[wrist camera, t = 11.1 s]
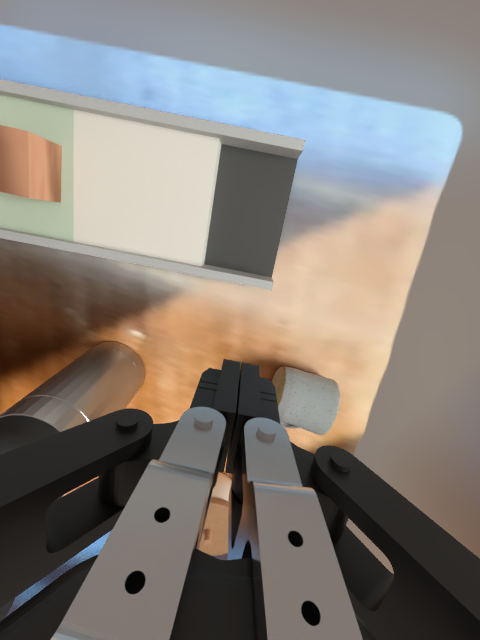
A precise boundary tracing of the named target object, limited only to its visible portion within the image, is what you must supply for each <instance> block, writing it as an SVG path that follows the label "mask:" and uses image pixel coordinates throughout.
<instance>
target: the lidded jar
mask: <svg viewBox="0 0 480 640" xmlns="http://www.w3.org/2000/svg"><path fill="white" fill-rule="evenodd" d="M231 483H232V480H231V479H230V478H229V477H228V476H227V475H225V474H223V473H221V472H219V473H218V478H217V482H216V485H215V487H214V488H213V492H212V496H211V501H210V505H209V509H208V513H207V517H206V521H205V525H204V530H203V534H202V538H201V542H200V546H199V550H200V551H202V552H204V553H206V554H208V555H222V554H225V553H228V509H229V492H230V487H231Z"/></svg>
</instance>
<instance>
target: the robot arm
mask: <svg viewBox="0 0 480 640" xmlns="http://www.w3.org/2000/svg"><path fill="white" fill-rule="evenodd" d="M240 364H241V362H237V361H232V360H226V359H224V361H223V365H222V370H217V369H212V368H209V369H207V370H206V371H205V372H203V373H202V375H201V378H200V381H199V384H198V387H197V389H196V392H195V395H194V398H193V401H192V404H191V406H190V409H188V410H187V411H185V412H184V413H183V414H182V416H181V418H180V420H178V421H175V422H172V423H165V424H153V420H152V418H151V416H150V415H149V414H147V413H146V412H144V411H142V410H138V409H125V408H126V406H127V405H128V404H129V402H130V401H131V400H132V398H133V397H134V395H135V394H136V393H137V391H138V390H139V388H140V387H141V385H142V384H143V381H144V378H145V369H144V365H143V362H142V360H141V359H140V357H139V355H138V354H137V353H136V352H135V351H134V350H132V349H131V348H130V347H128V346H126V345H124V344H121V343H118V342H103V343H100V344H97V345H96V346H94V347H93V348H91V349H90V350H89V351H87V352H86V353H84V354H83V355H82V356H80V357H79V358H77V359H76V360H75V361H73V362H72V363H70V364H69V365H68V366H66V367H65V368H64V369H62V370H61V371H60V372H58V373H57V374H55V375H54V376H53V377H51V378H50V379H49V380H47V381H46V382H45V383H43V384H42V385H40V386H39V387H38V388H36V389H35V390H34V391H32V392H31V393H29V394H28V395H27V396H25V397H24V398H23V399H21V400H20V401H19V402H17V403H16V404H15V405H13V406H12V407H11V408H9V409H8V410H7V411H5V412H4V413H2V414H1V415H0V640H480V559H479V558H478V557H477V556H476V555H474V554H473V553H472V552H471V551H469V550H468V549H467V548H466V547H465V546H463V545H462V544H461V543H460V542H458V541H457V540H456V539H455V538H453V537H452V536H451V535H450V534H449V533H447V532H446V531H445V530H444V529H443V528H441V527H440V526H439V525H438V524H436V523H435V522H434V521H433V520H431V519H430V518H429V517H428V516H427V515H425V514H424V513H423V512H422V511H420V510H419V509H418V508H417V507H416V506H414V505H413V504H412V503H410V502H409V501H408V500H407V499H406V498H405V497H403V496H402V495H401V494H399V493H398V492H397V491H396V490H395V489H393V488H392V487H391V486H390V485H389V484H387V483H386V482H385V481H384V480H383V479H381V478H380V477H379V476H378V475H376V474H375V473H374V472H373V471H371V470H370V469H369V468H368V467H367V466H365V465H364V464H363V463H362V462H361V461H359V460H358V459H357V458H356V457H354V456H353V455H352V454H350V453H349V452H347V451H346V450H344V449H341V448H339V447H335V446H322V447H320V448H318V449H317V451H316V453H315V454H313V453H311V452H308V451H306V450H304V449H302V448H300V447H298V446H296V445H294V444H293V443H292V442H290V439H289V436H288V433H287V431H286V430H285V428H284V427H283V426H282V425H280V417H279V410H278V403H277V396H276V389H275V386H274V385H273V383H272V382H271V381H270V379H265V378H260V377H259V365H253V364H248V363H243V362H242V364H241V368H240ZM227 453H228V454H227ZM226 458H227V463H226V473H231V474H232V483H231V487H230V492H229V509H228V560H219V559H217V558H214V557H212V556H210V555H208V554H206V553H204V552H202V551H200V550H199V546H200V542H201V538H202V534H203V530H204V525H205V521H206V517H207V513H208V509H209V505H210V501H211V496H212V492H213V488H214V487H215V485H216V482H217V478H218V473H219V471H220V472H224V467H225V462H226ZM97 476H99V478H97V479H95V480H93V481H91V482H90V483H88V484H86V485H84V486H82V487H80V488H78V489H77V490H75V491H73V492H71V493H69V494H67V495H65V496H63V495H64V494H65V493H67V492H69V491H71V490H73V489H75V488H76V487H78V486H80V485H82V484H84V483H86V482H88V481H90V480H91V479H93V478H95V477H97ZM62 496H63V497H62ZM61 497H62V498H61ZM348 519H350V520H352V521H353V523H354V524H355V525H356V526H357V527H358V528H359V529H360V530H361V531H362V532H363V533H364V534H365V535H366V536H367V537H368V538H369V539H370V540H371V541H372V542H373V543H374V544H375V545H376V546H377V547H378V548H379V549H380V550H381V551H382V552H383V553H384V554H385V555H386V557H387V558H388V559H389V561H390V563H391V565H392V567H393V571H394V574H392V573H391V572H390V571H389V570H388V569H386V567H385V566H384V565H383V564H382V563H381V562H380V561H379V560H378V559H377V558H376V557H375V556H374V555H373V554H372V553H371V552H370V551H369V550H368V548H366V546H365V545H364V544H363V543H362V542H361V541H360V540H359V539H358V538H357V537H356V536H355V535H354V534H353V533H352V532H351V531H350V530H349V528H348V527H347V526H346V523H347V521H348ZM112 529H113V530H112ZM111 530H112V531H111ZM109 531H111V533H110V535H109V537H108V539H107V540H106V542H105V544H104V546H103V548H102V550H101V551H100V553H99V555H96V556H94V557H92V558H90V559H88V560H85V561H83V562H81V563H80V564H78V565H76V566H75V567H73V568H72V569H70V570H68V571H67V572H65V573H64V574H63V575H61V576H60V577H59V578H57V579H56V580H55V581H53V582H52V583H51V584H49V585H48V586H47V587H45V588H44V589H43V590H41V591H40V592H39V593H38V594H36V595H35V596H34V597H32V598H31V599H30V600H28V601H27V602H26V603H24V604H23V605H22V606H20V607H19V608H18V609H16V610H15V611H14V612H13V613H11V614H10V615H9V616H7V617H6V615H7V613H8V611H9V609H10V608H11V606H12V604H13V601H14V599H15V597H16V596H18V595H19V594H20V593H22V592H23V591H25V590H26V589H28V588H29V587H30V586H32V585H33V584H35V583H36V582H38V581H39V580H41V579H42V578H43V577H45V576H46V575H48V574H49V573H51V572H52V571H53V570H55V569H56V568H58V567H59V566H61V565H62V564H63V563H65V562H66V561H68V560H69V559H71V558H72V557H73V556H75V555H76V554H78V553H79V552H81V551H82V550H83V549H85V548H86V547H88V546H89V545H91V544H92V543H93V542H95V541H96V540H98V539H99V538H101V537H102V536H103V535H105V534H106V533H108V532H109ZM5 617H6V618H5Z"/></svg>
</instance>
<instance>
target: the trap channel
mask: <svg viewBox="0 0 480 640" xmlns="http://www.w3.org/2000/svg"><path fill="white" fill-rule="evenodd" d="M0 95H4V96H9V97H14V98H19V99H24V100H29V101H34V102H39V103H44V104H49V105H54V106H59V107H64V108H69V109H74V234H73V240H74V242H73V241H68V240H63V239H57V238H52V237H47V236H42V235H37V234H31V233H26V232H21V231H16V230H11V229H5V228H0V238H3V239H8V240H13V241H18V242H23V243H29V244H34V245H39V246H44V247H49V248H55V249H60V250H65V251H70V252H75V253H81V254H86V255H91V256H96V257H102V258H107V259H112V260H117V261H122V262H128V263H133V264H138V265H143V266H148V267H154V268H159V269H164V270H169V271H175V272H180V273H185V274H190V275H195V276H201V277H206V278H211V279H216V280H221V281H227V282H232V283H237V284H242V285H248V286H253V287H258V288H263V289H268V290H272V286H273V280H272V273H273V268H274V264H275V259H276V255H277V250H278V246H279V241H280V236H281V232H282V227H283V223H284V218H285V214H286V209H287V205H288V200H289V196H290V191H291V187H292V182H293V177H294V173H295V168H296V164H297V159H298V158H299V156H300V154H301V153H302V151H303V147H304V143H305V140H303V139H298V138H293V137H288V136H283V135H278V134H273V133H268V132H263V131H258V130H253V129H248V128H243V127H238V126H233V125H228V124H223V123H218V122H213V121H208V120H203V119H198V118H193V117H188V116H183V115H178V114H173V113H168V112H163V111H157V110H152V109H147V108H142V107H137V106H132V105H127V104H122V103H117V102H112V101H107V100H102V99H97V98H92V97H87V96H82V95H77V94H72V93H67V92H62V91H57V90H52V89H47V88H42V87H37V86H32V85H27V84H22V83H17V82H12V81H7V80H2V79H0Z"/></svg>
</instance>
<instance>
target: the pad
mask: <svg viewBox="0 0 480 640" xmlns="http://www.w3.org/2000/svg"><path fill="white" fill-rule="evenodd" d="M0 125H3V126H7V127H12V128H16V129H20V130H25V131H29V132H31V133H33V134H35V135H38V136H40V137H42V138H44V139H47V140H49V141H51V142H54V143H56V144H58V145H60V146H62V170H61V203H60V202H53V201H46V200H39V199H31V198H26V197H22V196H17V195H13V194H8V193H4V192H0V228H5V229H11V230H16V231H21V232H26V233H31V234H37V235H42V236H47V237H52V238H57V239H63V240H68V241H73V242H74V240H73V234H74V109H69V108H64V107H59V106H54V105H49V104H44V103H39V102H34V101H29V100H24V99H19V98H14V97H9V96H4V95H0Z"/></svg>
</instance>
